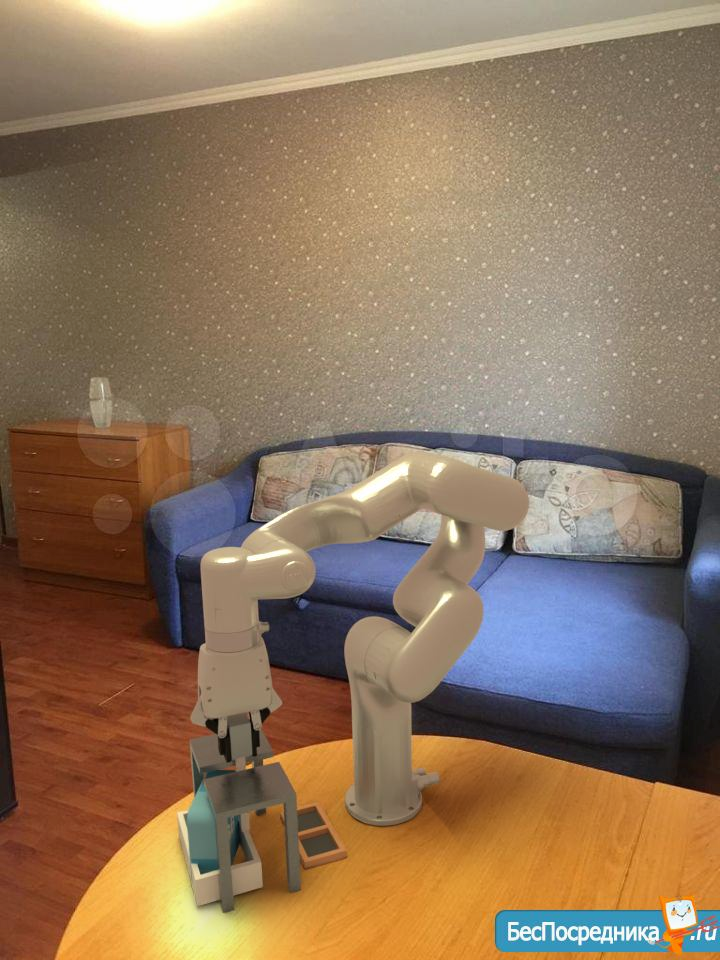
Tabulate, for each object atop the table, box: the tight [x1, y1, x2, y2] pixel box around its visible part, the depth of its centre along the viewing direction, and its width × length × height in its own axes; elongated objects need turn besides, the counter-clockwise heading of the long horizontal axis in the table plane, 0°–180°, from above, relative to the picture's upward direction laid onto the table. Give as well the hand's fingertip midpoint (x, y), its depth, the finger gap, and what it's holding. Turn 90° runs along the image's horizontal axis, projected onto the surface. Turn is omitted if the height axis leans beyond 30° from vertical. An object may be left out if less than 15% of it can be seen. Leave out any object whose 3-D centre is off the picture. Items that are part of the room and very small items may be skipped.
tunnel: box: [189, 728, 302, 914], centre depth 115 cm, size 11×20×15 cm, turn 22°
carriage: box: [176, 713, 264, 907], centre depth 113 cm, size 10×16×22 cm, turn 22°
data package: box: [187, 769, 241, 880], centre depth 113 cm, size 12×4×12 cm, turn 175°
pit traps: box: [279, 801, 348, 870], centre depth 120 cm, size 6×13×1 cm, turn 22°
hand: (239, 753), depth 113 cm, fingers closed on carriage, 3 cm apart
